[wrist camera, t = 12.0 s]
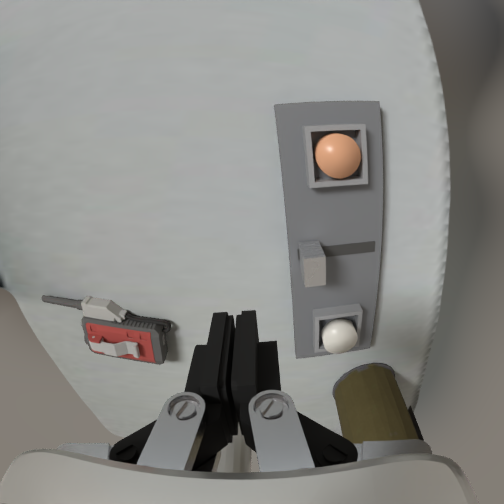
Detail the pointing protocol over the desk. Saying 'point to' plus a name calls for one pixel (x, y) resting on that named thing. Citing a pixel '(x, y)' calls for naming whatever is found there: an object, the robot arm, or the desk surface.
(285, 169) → the panel
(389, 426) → the canister
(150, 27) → the desk surface
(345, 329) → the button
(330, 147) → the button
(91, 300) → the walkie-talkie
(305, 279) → the lever
